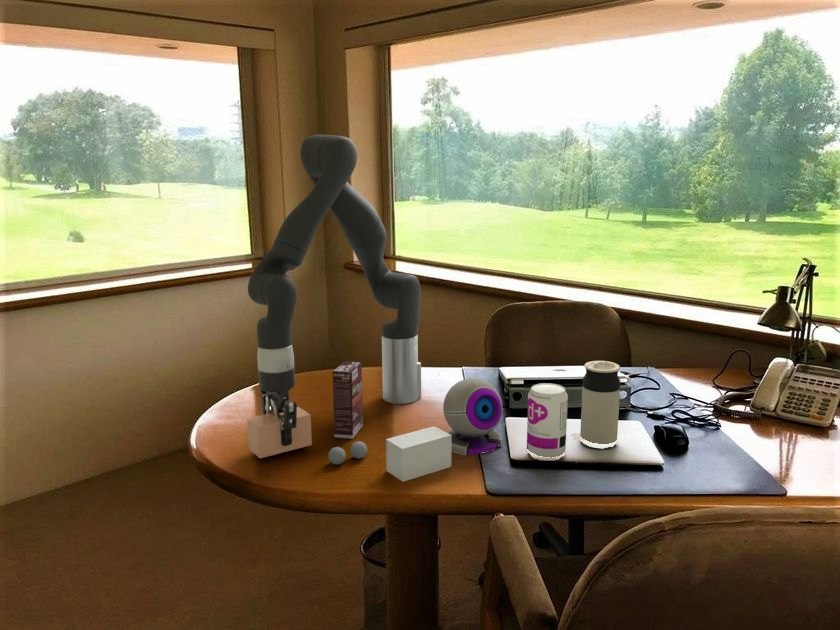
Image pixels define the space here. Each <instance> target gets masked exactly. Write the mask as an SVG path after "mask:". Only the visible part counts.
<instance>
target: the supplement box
mask: <svg viewBox="0 0 840 630" xmlns="http://www.w3.org/2000/svg"><path fill="white" fill-rule="evenodd" d="M362 363H363V362H362V361H352V360H351V361H350V360H349V361H348V360H346V361H345V360H343V362H342V363H341V364H340V365H339V366H338V367H336V368H335V369H334V370H332V400H333V401H332V402H333V407H332V408H333V437H334V438H337V439H347V438H348V439H350V440H353V439H354V437H355V436H356V435H357V434H358V432H359V431H360V429H362V427H363V426H364V424H363V423H364V421H363V419H364V418H363V417H364V415H363V377H362V375H363V372H362V370H363V369H362V368H363V366H362Z"/></svg>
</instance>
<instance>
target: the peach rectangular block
mask: <svg viewBox="0 0 840 630" xmlns="http://www.w3.org/2000/svg"><path fill="white" fill-rule="evenodd" d="M280 415H284V413H280ZM311 416H312V415H311V414H310V413H309V412H307V411H305V410H304V409H302V408H301V407H299V406H297V423H296V428H292V429H291V432H292V444H291V445H288V446H282V445H281V429H280V422H279V421H278V420H277V419H276V418H275V413H274V412H273V413H271V414H260V415H256V416H252V417H251V416H250V417H247V418H246V424H247V425H246V426H247V439H248V450H250V451H251V452H252V453H253V454H254V455H255V456H257V458H259V459H263V458H266V457H267V458H268V457H271V456H275V455H278V454H282V453H286V452H290V451H294V450H298V449H301V448H304V447H305V448H306V447H309V446H312V445H313V441H312V419H311Z"/></svg>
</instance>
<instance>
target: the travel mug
mask: <svg viewBox="0 0 840 630" xmlns="http://www.w3.org/2000/svg"><path fill="white" fill-rule="evenodd" d="M584 368H585V371H586V372H585V374H584V375H583V378H582V387H581V388H582V391H581V409H580V410H581V412H580V414H581V415H580V431H579V432H580V433H579V434H580V436H581V437H582V438H583V439H585V440H587V441H589V442H592V443H598V444H609V443H613V442H615V441H616V440H617V441H618V432H619V431H618V429H619V412H620V398H621V397H620V394H621V380H620V377H619V375H618V374H619V370H621V367H620V365H619V364H618V363H615V362H612V361H608V360H607V361H606V360H592V361H588V362H585V364H584Z"/></svg>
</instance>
